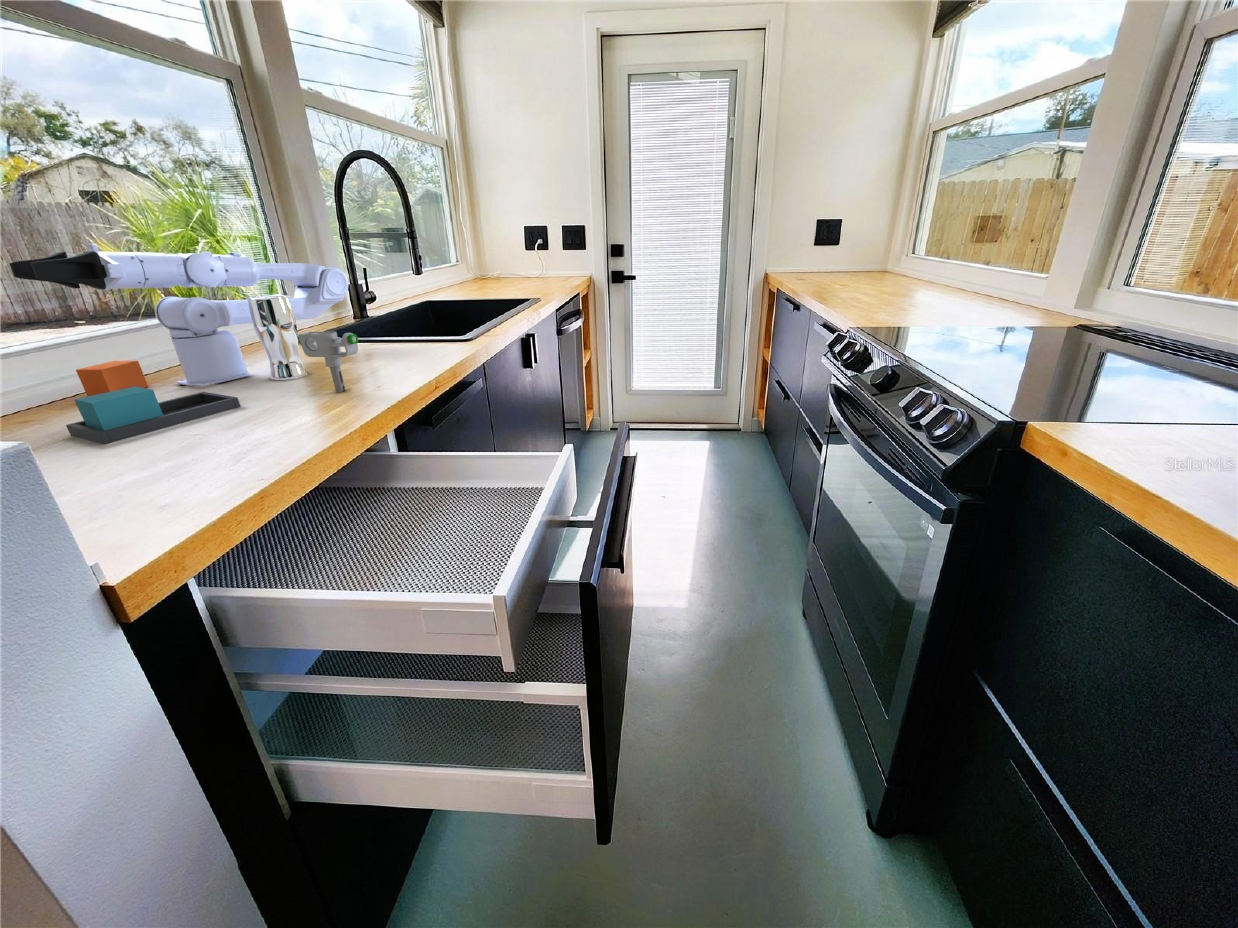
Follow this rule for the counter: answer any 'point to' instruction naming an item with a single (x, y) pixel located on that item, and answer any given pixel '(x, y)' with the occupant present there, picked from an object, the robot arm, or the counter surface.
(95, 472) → the counter surface
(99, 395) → the teal rectangular block
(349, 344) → the mechanical component
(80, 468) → the counter surface
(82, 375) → the orange block
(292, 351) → the beer glass
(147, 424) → the tray
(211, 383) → the robot arm
